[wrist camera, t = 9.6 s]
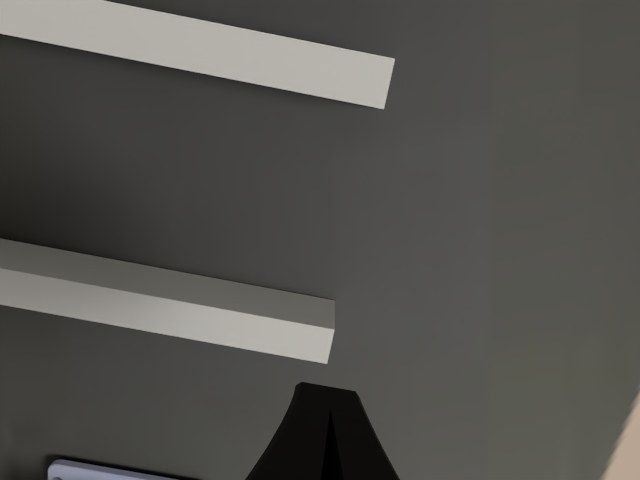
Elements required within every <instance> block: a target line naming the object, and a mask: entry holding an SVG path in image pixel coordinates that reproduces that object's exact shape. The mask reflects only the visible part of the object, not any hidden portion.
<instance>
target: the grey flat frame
mask: <svg viewBox="0 0 640 480" xmlns="http://www.w3.org/2000/svg"><path fill="white" fill-rule="evenodd" d="M0 34H5V35H10V36H15V37H20V38H25V39H30V40H35V41H40V42H45V43H50V44H55V45H60V46H66V47H71V48H76V49H81V50H86V51H91V52H96V53H101V54H106V55H111V56H116V57H121V58H126V59H132V60H137V61H142V62H147V63H152V64H157V65H162V66H167V67H172V68H177V69H182V70H187V71H192V72H197V73H203V74H208V75H213V76H218V77H223V78H228V79H233V80H238V81H243V82H248V83H253V84H258V85H263V86H269V87H274V88H279V89H284V90H289V91H294V92H299V93H304V94H309V95H314V96H319V97H324V98H329V99H334V100H340V101H345V102H350V103H355V104H360V105H365V106H370V107H375V108H380V109H384V106H385V101H386V97H387V92H388V88H389V83H390V79H391V75H392V70H393V66H394V61H395V59H393V58H388V57H383V56H378V55H373V54H368V53H363V52H358V51H353V50H348V49H343V48H338V47H333V46H328V45H323V44H318V43H313V42H308V41H303V40H298V39H293V38H288V37H283V36H278V35H273V34H268V33H263V32H258V31H253V30H248V29H243V28H238V27H233V26H228V25H223V24H218V23H213V22H208V21H203V20H198V19H193V18H188V17H183V16H178V15H173V14H168V13H163V12H158V11H153V10H148V9H143V8H138V7H133V6H128V5H123V4H118V3H113V2H108V1H103V0H0ZM0 305H6V306H11V307H17V308H22V309H28V310H33V311H39V312H44V313H50V314H55V315H61V316H66V317H72V318H77V319H83V320H88V321H94V322H99V323H105V324H110V325H116V326H121V327H127V328H132V329H138V330H143V331H149V332H154V333H160V334H165V335H171V336H177V337H182V338H188V339H193V340H199V341H204V342H210V343H215V344H221V345H226V346H232V347H237V348H243V349H248V350H254V351H259V352H265V353H270V354H276V355H281V356H287V357H292V358H298V359H303V360H309V361H314V362H320V363H325V364H327V361H328V357H329V353H330V348H331V344H332V339H333V335H334V330H335V300H330V299H325V298H319V297H314V296H309V295H303V294H298V293H292V292H287V291H282V290H276V289H271V288H265V287H260V286H255V285H249V284H244V283H238V282H233V281H228V280H222V279H217V278H212V277H206V276H201V275H195V274H190V273H185V272H179V271H174V270H168V269H163V268H158V267H152V266H147V265H141V264H136V263H131V262H125V261H120V260H114V259H109V258H104V257H98V256H93V255H87V254H82V253H77V252H71V251H66V250H61V249H55V248H50V247H44V246H39V245H34V244H28V243H23V242H17V241H12V240H7V239H1V238H0Z"/></svg>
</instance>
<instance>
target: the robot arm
mask: <svg viewBox="0 0 640 480" xmlns="http://www.w3.org/2000/svg"><path fill="white" fill-rule="evenodd" d="M48 480H178V479H172V478H166V477H160V476H155V475H149V474H143V473H137V472H132V471H126V470H120V469H114V468H109V467H103V466H97V465H91V464H85V463H80V462H74V461H68V460H62V459H58V460H55V461H54V462H53V463H52V464H51V465H50V466H49V468H48ZM245 480H400V479H399V477H398V476H397V474H396V472H395V470H394V468H393V466H392V464H391V463H390V461H389V459H388V457H387V455H386V453H385V451H384V450H383V448H382V446H381V444H380V442H379V440H378V438H377V436H376V434H375V431H374V429H373V427H372V425H371V423H370V421H369V419H368V416H367V414H366V412H365V410H364V407H363V405H362V403H361V400H360V398H359V396H358V394H357V393H356V391H351V390H345V389H339V388H333V387H328V386H322V385H316V384H310V383H305V382H301V383H299V384H297V385H296V387H295V392H294V395H293V398H292V401H291V403H290V406H289V408H288V410H287V412H286V414H285V416H284V418H283V421H282V422H281V424H280V426H279V428H278V429H277V431H276V433H275V435H274V436H273V438H272V440H271V442H270V443H269V445H268V447H267V448H266V450H265V452H264V453H263V454H262V456H261V457H260V459H259V460H258V462H257V463H256V465H255V466H254V468H253V469H252V471H251V472H250V474H249V475H248V477H247V478H246V479H245Z"/></svg>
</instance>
